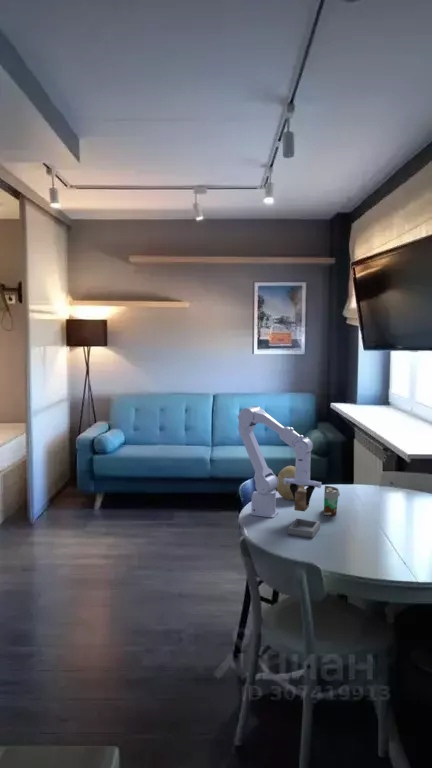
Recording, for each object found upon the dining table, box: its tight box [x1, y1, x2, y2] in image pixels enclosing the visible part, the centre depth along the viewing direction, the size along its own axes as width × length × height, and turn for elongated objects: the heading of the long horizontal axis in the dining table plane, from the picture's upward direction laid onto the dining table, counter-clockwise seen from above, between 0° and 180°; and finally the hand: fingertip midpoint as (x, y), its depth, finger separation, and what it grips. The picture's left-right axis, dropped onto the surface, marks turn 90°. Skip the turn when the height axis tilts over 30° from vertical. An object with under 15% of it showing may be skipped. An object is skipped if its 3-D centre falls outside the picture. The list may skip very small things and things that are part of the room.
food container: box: [323, 485, 341, 518], centre depth 233 cm, size 12×6×10 cm, turn 168°
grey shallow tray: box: [287, 518, 321, 539], centre depth 211 cm, size 9×12×2 cm
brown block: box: [293, 488, 310, 512], centre depth 223 cm, size 4×7×7 cm, turn 158°
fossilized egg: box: [276, 465, 306, 501], centre depth 253 cm, size 13×13×15 cm
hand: (301, 503), depth 223 cm, fingers closed on brown block, 4 cm apart
